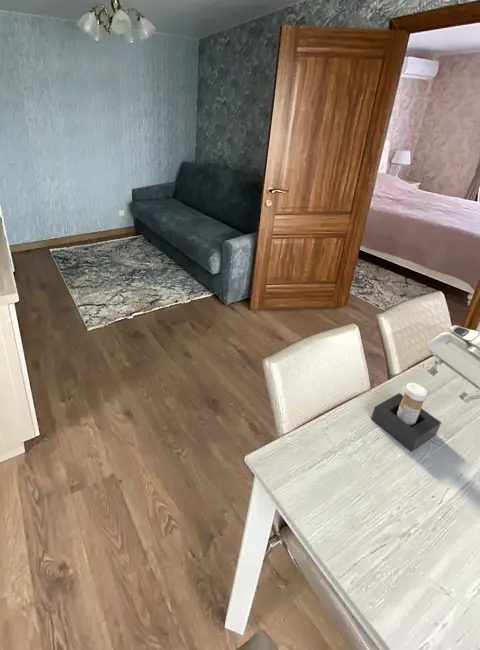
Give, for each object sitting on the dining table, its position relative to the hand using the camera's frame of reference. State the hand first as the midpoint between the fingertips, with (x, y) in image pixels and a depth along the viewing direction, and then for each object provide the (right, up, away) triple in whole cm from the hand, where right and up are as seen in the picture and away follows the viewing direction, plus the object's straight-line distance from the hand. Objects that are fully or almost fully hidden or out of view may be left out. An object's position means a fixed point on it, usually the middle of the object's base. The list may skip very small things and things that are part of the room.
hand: (445, 385), depth 89 cm
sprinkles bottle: (-9, -13, +4) cm, 16 cm away
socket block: (-9, -13, +4) cm, 16 cm away
